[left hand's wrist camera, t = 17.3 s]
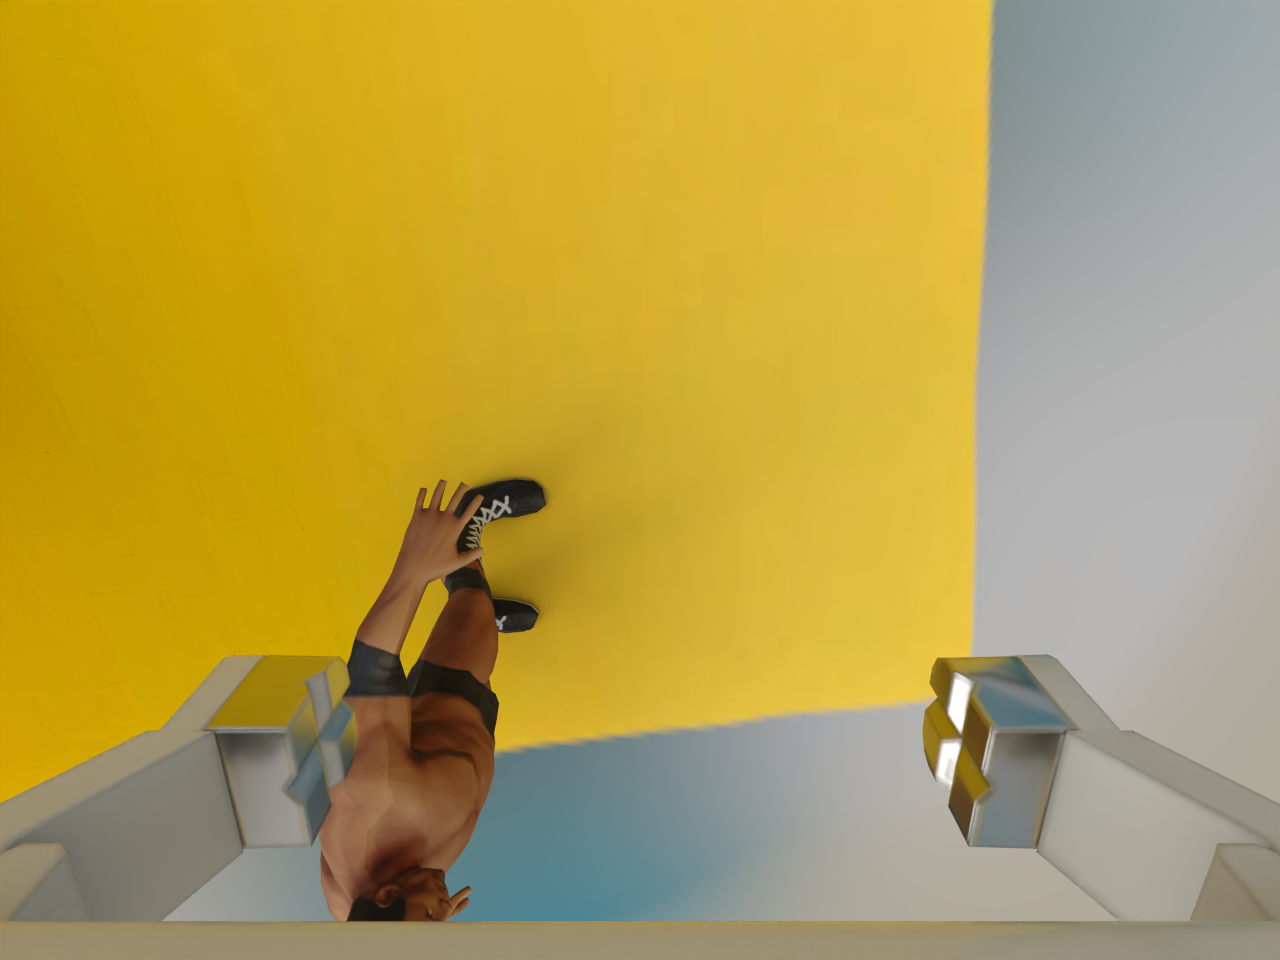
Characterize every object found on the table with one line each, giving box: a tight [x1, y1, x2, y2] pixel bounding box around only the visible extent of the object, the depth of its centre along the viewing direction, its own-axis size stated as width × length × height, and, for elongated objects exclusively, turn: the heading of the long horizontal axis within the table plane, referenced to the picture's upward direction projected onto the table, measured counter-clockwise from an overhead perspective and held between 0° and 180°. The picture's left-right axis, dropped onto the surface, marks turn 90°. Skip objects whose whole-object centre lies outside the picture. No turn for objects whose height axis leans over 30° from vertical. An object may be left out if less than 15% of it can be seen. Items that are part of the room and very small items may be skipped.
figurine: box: [319, 478, 547, 921], centre depth 38 cm, size 24×6×30 cm, turn 174°
